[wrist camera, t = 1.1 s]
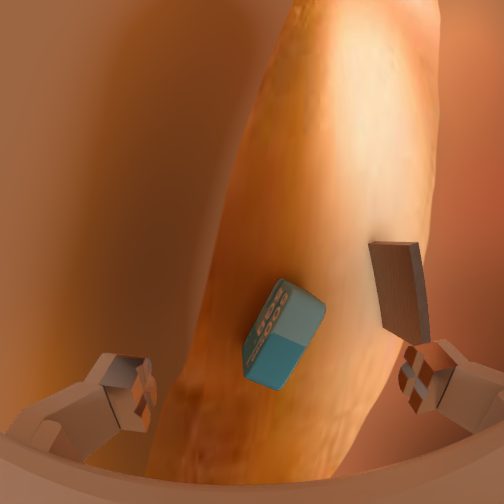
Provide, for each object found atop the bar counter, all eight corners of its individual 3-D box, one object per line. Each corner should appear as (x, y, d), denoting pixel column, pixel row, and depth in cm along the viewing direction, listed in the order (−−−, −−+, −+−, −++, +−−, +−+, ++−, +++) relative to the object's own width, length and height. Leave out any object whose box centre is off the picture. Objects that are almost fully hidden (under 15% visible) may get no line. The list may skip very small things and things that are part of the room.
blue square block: (278, 276, 43) (294, 289, 32) (305, 289, 44) (330, 306, 32) (241, 346, 44) (243, 382, 32) (267, 358, 44) (278, 396, 32)
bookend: (405, 318, 45) (447, 338, 33) (383, 327, 45) (422, 350, 33) (391, 236, 44) (435, 236, 32) (367, 243, 44) (408, 245, 32)
